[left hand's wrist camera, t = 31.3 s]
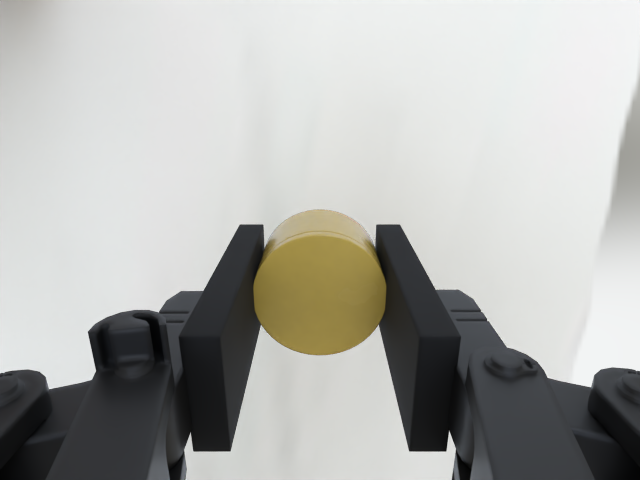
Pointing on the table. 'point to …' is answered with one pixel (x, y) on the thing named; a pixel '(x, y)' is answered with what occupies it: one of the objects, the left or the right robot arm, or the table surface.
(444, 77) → the table surface
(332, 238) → the cap
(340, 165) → the table surface
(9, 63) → the table surface
